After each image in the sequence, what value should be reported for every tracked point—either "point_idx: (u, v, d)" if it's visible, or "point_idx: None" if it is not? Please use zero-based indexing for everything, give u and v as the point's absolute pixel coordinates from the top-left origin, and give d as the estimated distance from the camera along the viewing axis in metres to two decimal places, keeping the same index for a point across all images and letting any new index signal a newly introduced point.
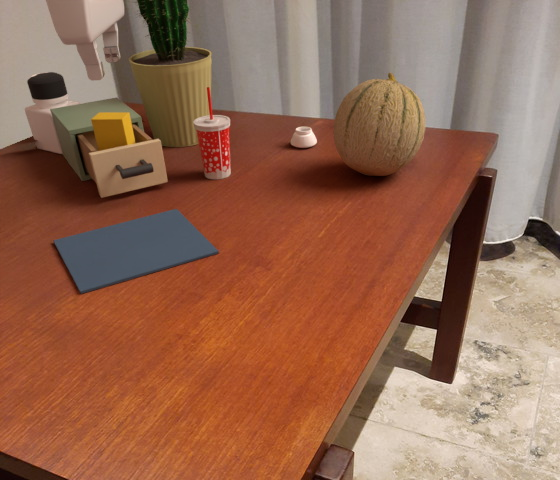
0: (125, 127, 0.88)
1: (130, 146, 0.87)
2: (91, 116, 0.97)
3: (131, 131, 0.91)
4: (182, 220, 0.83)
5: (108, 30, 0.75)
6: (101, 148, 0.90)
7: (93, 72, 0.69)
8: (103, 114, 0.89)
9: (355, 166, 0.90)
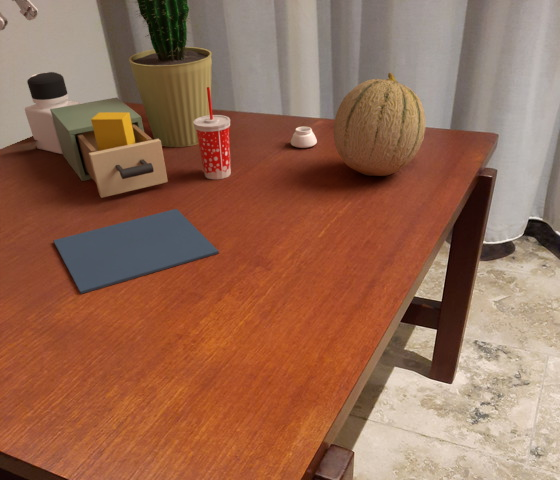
0: (125, 127, 0.88)
1: (130, 146, 0.87)
2: (91, 116, 0.97)
3: (131, 131, 0.91)
4: (182, 220, 0.83)
5: None
6: (101, 148, 0.90)
7: None
8: (103, 114, 0.89)
9: (355, 166, 0.90)
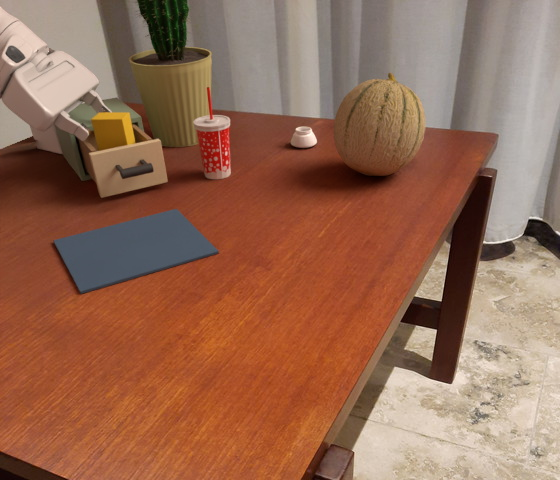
0: (125, 127, 0.88)
1: (130, 146, 0.87)
2: (91, 116, 0.97)
3: (131, 131, 0.91)
4: (182, 220, 0.83)
5: (91, 100, 0.92)
6: (101, 148, 0.90)
7: (80, 134, 0.86)
8: (103, 114, 0.89)
9: (355, 166, 0.90)
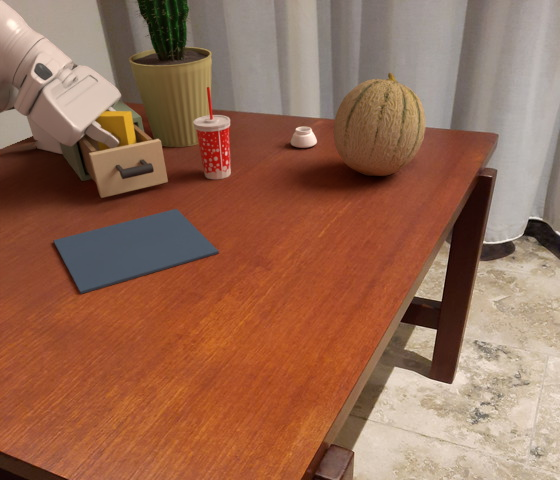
0: (126, 124, 0.89)
1: (130, 146, 0.87)
2: None
3: (132, 130, 0.91)
4: (182, 220, 0.83)
5: None
6: (102, 145, 0.91)
7: (111, 143, 0.89)
8: (105, 112, 0.90)
9: (355, 166, 0.90)
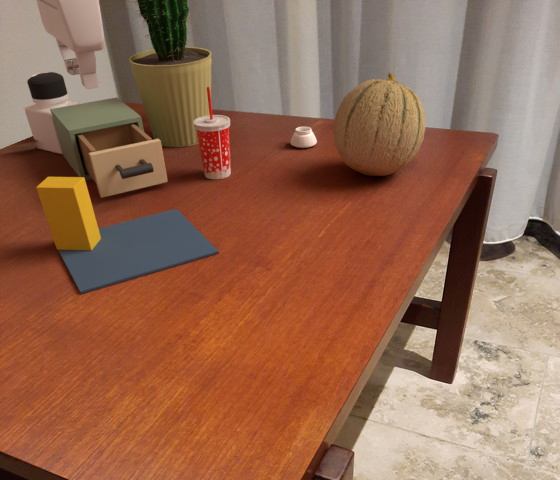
0: (78, 196, 0.72)
1: (130, 146, 0.87)
2: (91, 116, 0.97)
3: (87, 199, 0.75)
4: (182, 220, 0.83)
5: None
6: (50, 220, 0.74)
7: (90, 81, 0.70)
8: (52, 180, 0.73)
9: (355, 166, 0.90)
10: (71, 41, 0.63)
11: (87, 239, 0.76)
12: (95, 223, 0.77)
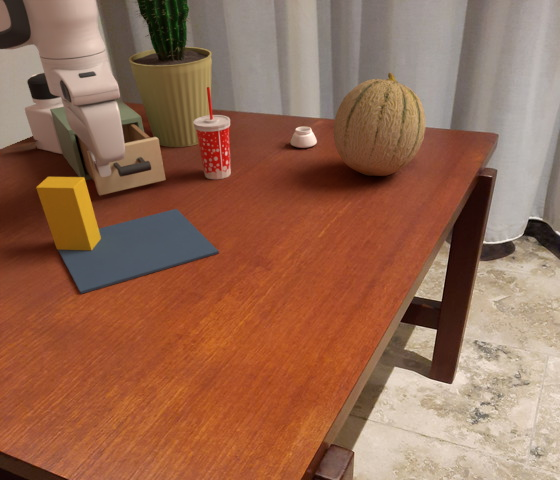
0: (78, 196, 0.72)
1: (128, 144, 0.88)
2: None
3: (87, 199, 0.75)
4: (182, 220, 0.83)
5: None
6: (50, 220, 0.74)
7: (104, 170, 0.85)
8: (52, 180, 0.73)
9: (355, 166, 0.90)
10: (98, 155, 0.75)
11: (87, 239, 0.76)
12: (95, 223, 0.77)
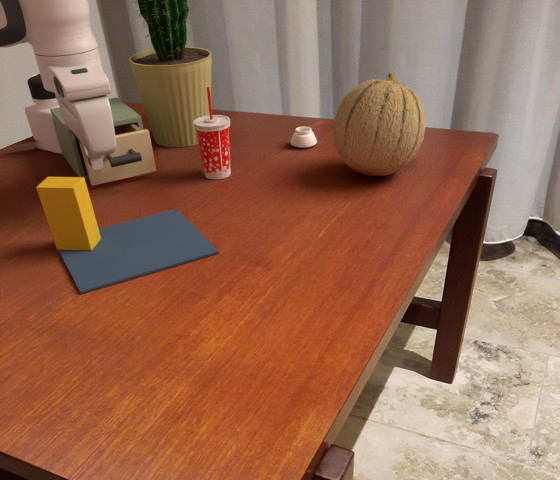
0: (78, 196, 0.72)
1: (119, 136, 0.91)
2: None
3: (87, 199, 0.75)
4: (182, 220, 0.83)
5: None
6: (50, 220, 0.74)
7: (97, 164, 0.88)
8: (52, 180, 0.73)
9: (355, 166, 0.90)
10: (90, 148, 0.78)
11: (87, 239, 0.76)
12: (95, 223, 0.77)
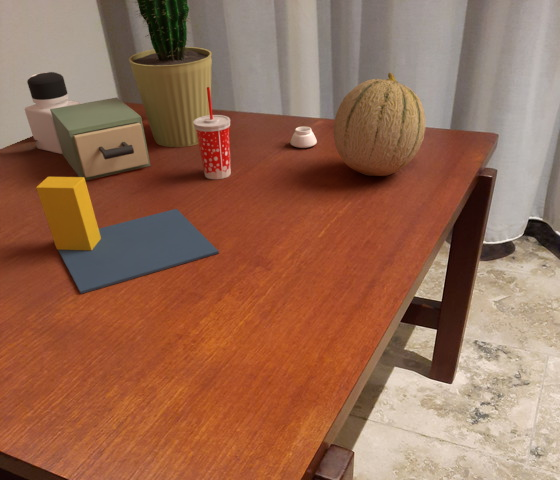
0: (78, 196, 0.72)
1: (112, 129, 0.94)
2: (91, 116, 0.97)
3: (87, 199, 0.75)
4: (182, 220, 0.83)
5: None
6: (50, 220, 0.74)
7: None
8: (52, 180, 0.73)
9: (355, 166, 0.90)
10: None
11: (87, 239, 0.76)
12: (95, 223, 0.77)
